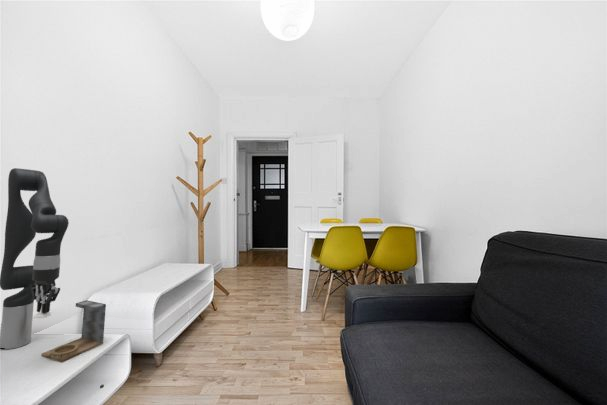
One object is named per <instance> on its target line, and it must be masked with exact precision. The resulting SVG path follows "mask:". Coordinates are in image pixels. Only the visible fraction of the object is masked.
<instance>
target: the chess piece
mask: <svg viewBox="0 0 607 405" xmlns="http://www.w3.org/2000/svg"><path fill="white" fill-rule="evenodd" d="M45 295H46V294H45ZM41 298H42V297H41ZM42 299H43V298H42ZM46 299H47V297H46ZM40 303H42V301H40ZM42 304H43V303H42ZM51 316H52V312H51V311H49V312H47V313H42V306H41V310H40V312H37V313H35V314H33V319H36V320H37V319H38V320H40V319H45V318H49V317H51Z"/></svg>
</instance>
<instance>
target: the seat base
mask: <svg viewBox="0 0 607 405" xmlns="http://www.w3.org/2000/svg"><path fill="white" fill-rule="evenodd" d="M75 307H76V308H79V309H83V311H82V312H83V313H82V314H83V315H82V325H81V326H82V327H81V337H80V338H77V339H75V340H71V341H70V342H67V343H65V344H61V345H59V346H56V347H54V348H52V349H50V350H48V351H45V352H42V353H41V356H40V357H42V358H46V359H49V360H53V361H55V362H58V363H64V362H66V361H69V360H71V359H73V358H75V357H77V356H79V355H82V354H84V353H86V352H89V351H91V350H93V349H96V348H97V347H99V346H102V345H103V344H104V338H105V337H104V335H105V321H106V309H107V308H106V307H107V305H106V303H102V302H96V301H93V300H82V301H78V302H76V303H75Z"/></svg>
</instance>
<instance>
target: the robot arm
mask: <svg viewBox="0 0 607 405" xmlns="http://www.w3.org/2000/svg"><path fill="white" fill-rule="evenodd" d="M7 184H8V186H7V189H8V190H7V191H8V192H7V194H8V195H7V198H8V199H7V200H8V202H7V213H6V221H5V230H4V249H3V250H4V251H3V259H2V263H1V271H0V289H1V290H3V291H8V290H9V291H10V290H17V289H21V290H20V291H19V292H17V293H14V294H12V295H10V296H8V297H6V298H4V299H3V303H2V315H1V324H0V348H5V349H4V350H11V349H16V348H20V347H24V346H26V345H28V344H29V343H31V340H32V331H33V319H34V303H35V302H36V303H37V304H36V312H37V313H39V312H40V310H41V306H42V313H47V312H51V311H50V310H51V303H52V302H55V301H56V299H57V298H58V295H59V293H60V291H61V287H56V285H57V284H56V280H57V279H58V278H59V277H60V271H61V270H60V268H61V247H62V242H63V239H64V237H65V234H66V231H67V229H68V228H69V219H68V218H67V216H66V215H64V214H57V209H56V207H55V205H54V203H53V201H52V199H51V195H50V190H49V185H48V184H49V183H48V180H47V177H46V175H45V173H44V172H43V171H40V170H36V169H26V168H18V167H17V168H12V169H10V171H9V174H8V181H7ZM21 191H24V192H27V191H28V192H35V193H34V194H33V195H31V196H30V198H29V200H28V206H26V204H25V203H24V201H23V199H22V198H23V197H22V194H21ZM28 207H29V208H28ZM37 234H52V235H51V236H50V237H48V238H43V239H38V241H36V244H35V253H34V260H33V263H32V264H33V265H23V266H14V265H15V262H16V260H17V258H18V257H19V256H20V254H21V253H22V252H23V251H24V250H25V249H26V248H27V246H29V245H30V244H31V242H32V241H33V240H34V239H35V237H36V235H37ZM45 294H46V295H45ZM41 297H42V298H43V299H42V298H41ZM46 297H47V298H46ZM34 301H35V302H34ZM40 301H42V303H43V304H42V303H40Z"/></svg>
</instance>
